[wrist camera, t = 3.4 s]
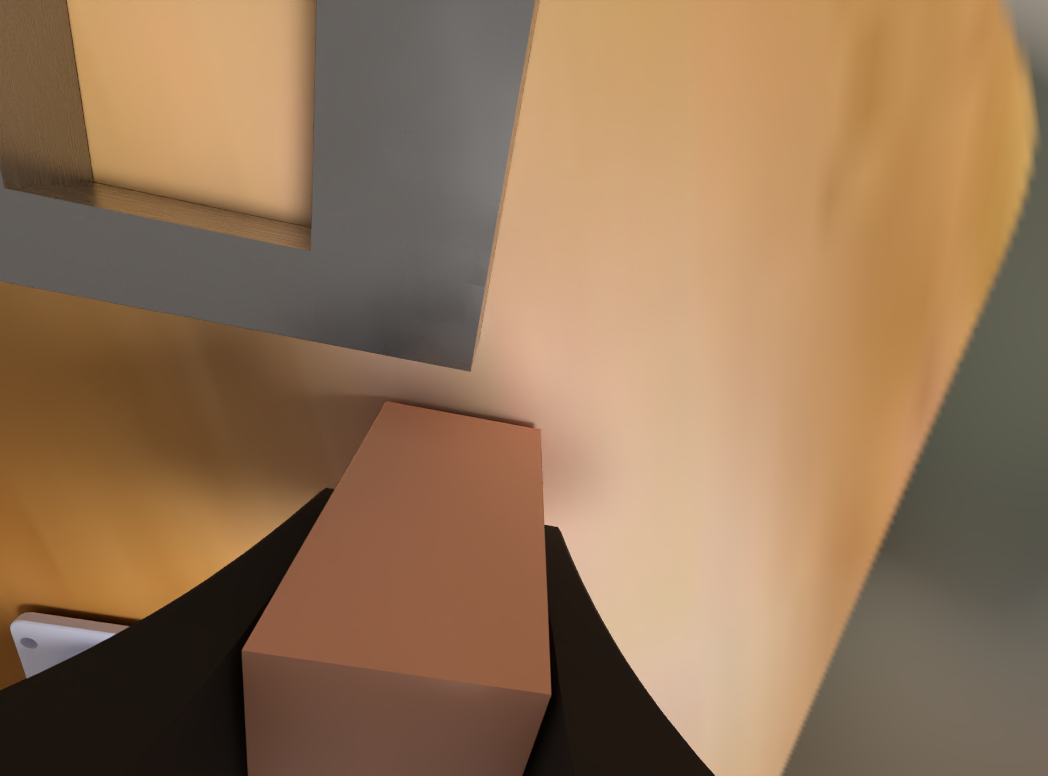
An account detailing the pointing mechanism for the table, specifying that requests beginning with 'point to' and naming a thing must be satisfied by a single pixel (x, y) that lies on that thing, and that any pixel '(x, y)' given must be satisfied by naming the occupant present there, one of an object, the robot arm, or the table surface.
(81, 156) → the grey slotted board
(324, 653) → the peg
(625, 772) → the robot arm
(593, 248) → the table surface
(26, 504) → the table surface
